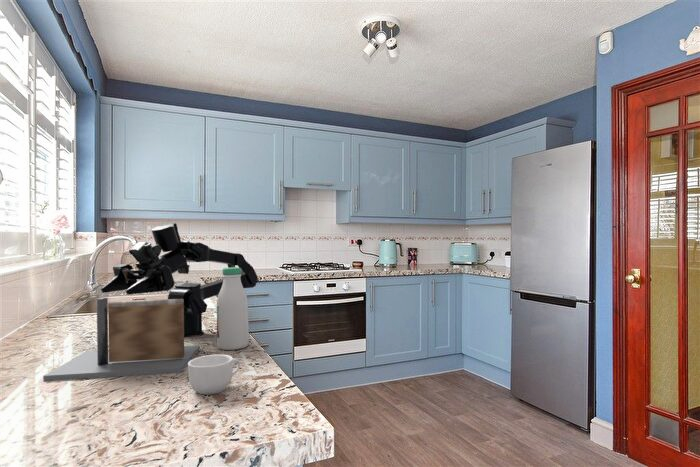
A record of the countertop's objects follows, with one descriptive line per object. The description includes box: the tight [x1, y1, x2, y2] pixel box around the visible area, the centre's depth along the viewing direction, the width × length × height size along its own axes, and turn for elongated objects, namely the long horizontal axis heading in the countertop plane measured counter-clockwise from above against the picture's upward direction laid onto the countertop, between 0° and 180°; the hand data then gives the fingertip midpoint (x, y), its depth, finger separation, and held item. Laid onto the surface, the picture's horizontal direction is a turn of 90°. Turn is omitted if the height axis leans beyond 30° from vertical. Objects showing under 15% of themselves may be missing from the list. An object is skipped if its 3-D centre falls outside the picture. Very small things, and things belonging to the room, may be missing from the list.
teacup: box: [187, 353, 241, 396], centre depth 76 cm, size 10×8×5 cm
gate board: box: [42, 344, 201, 382], centre depth 93 cm, size 26×18×1 cm
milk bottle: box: [216, 266, 250, 351], centre depth 106 cm, size 8×8×20 cm
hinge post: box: [96, 297, 109, 365], centre depth 89 cm, size 2×2×14 cm
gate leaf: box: [108, 298, 185, 362], centre depth 91 cm, size 15×2×13 cm, turn 98°
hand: (114, 291), depth 100 cm, fingers open, 9 cm apart
